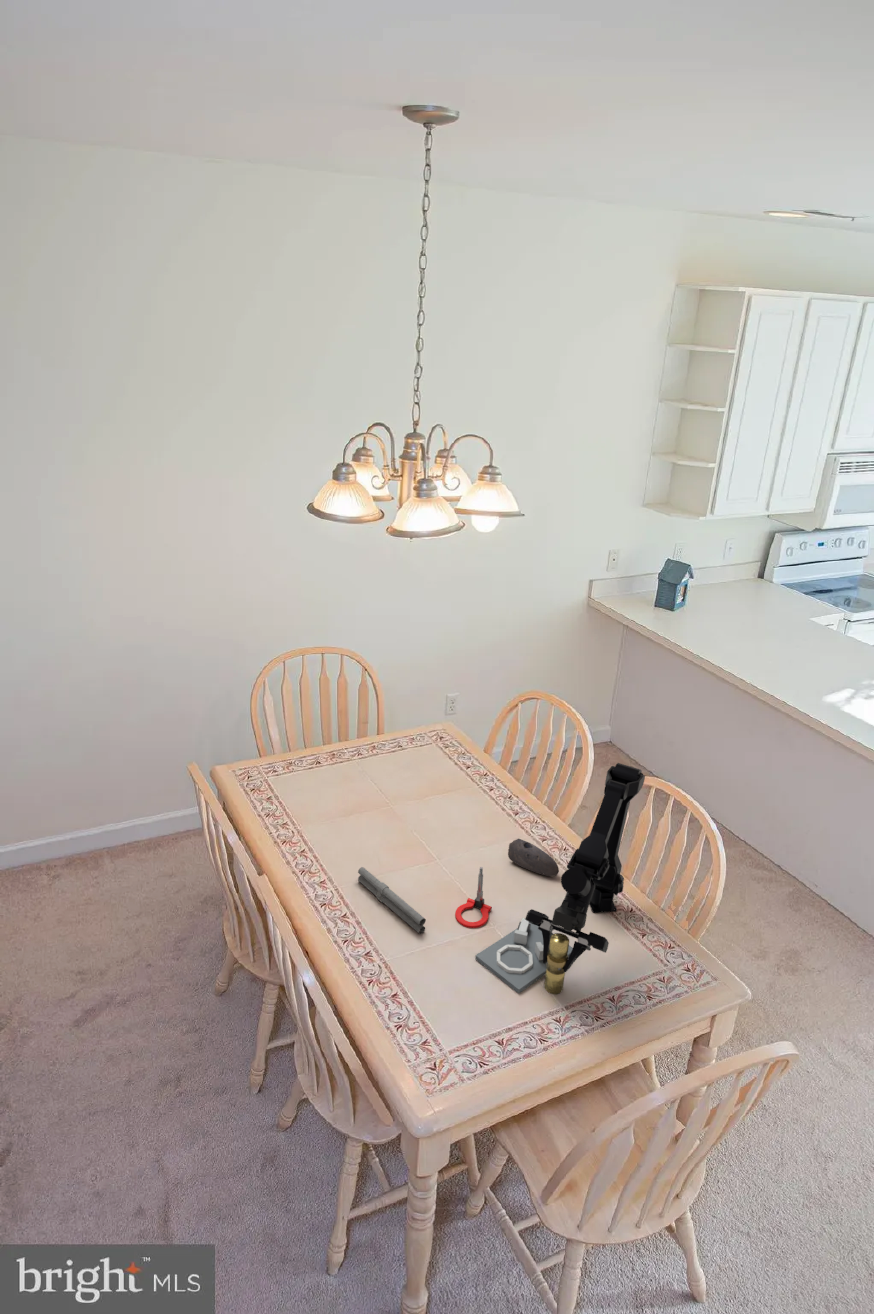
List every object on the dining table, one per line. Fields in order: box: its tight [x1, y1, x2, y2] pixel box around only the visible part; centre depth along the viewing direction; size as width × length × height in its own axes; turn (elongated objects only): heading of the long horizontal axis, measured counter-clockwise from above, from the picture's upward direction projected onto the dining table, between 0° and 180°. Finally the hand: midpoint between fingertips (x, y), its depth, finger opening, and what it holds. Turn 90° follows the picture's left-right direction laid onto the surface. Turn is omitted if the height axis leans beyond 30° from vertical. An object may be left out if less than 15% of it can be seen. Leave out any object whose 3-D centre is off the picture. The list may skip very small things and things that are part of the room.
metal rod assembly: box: [357, 866, 426, 935], centre depth 223 cm, size 26×3×5 cm, turn 41°
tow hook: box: [454, 866, 493, 929], centre depth 219 cm, size 8×13×9 cm
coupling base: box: [475, 917, 573, 994], centre depth 209 cm, size 20×14×4 cm
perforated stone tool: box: [507, 838, 560, 877], centre depth 239 cm, size 15×5×7 cm, turn 54°
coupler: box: [543, 932, 570, 995], centre depth 198 cm, size 5×5×14 cm
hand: (554, 967), depth 197 cm, fingers closed on coupler, 5 cm apart
